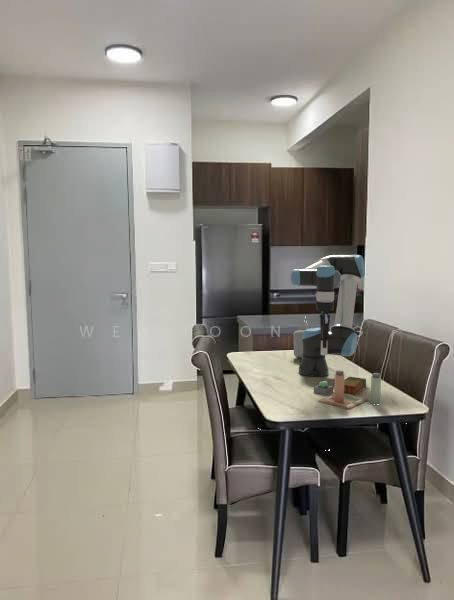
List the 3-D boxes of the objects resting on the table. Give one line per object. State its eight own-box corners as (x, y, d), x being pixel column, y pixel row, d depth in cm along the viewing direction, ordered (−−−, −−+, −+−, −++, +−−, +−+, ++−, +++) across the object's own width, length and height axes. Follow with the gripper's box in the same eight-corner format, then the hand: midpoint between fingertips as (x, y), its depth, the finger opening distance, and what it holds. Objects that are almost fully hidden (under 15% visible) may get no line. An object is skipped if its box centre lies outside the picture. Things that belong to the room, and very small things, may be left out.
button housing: (321, 389, 207) (321, 384, 207) (332, 392, 203) (333, 386, 203) (313, 392, 203) (313, 386, 203) (325, 394, 199) (325, 389, 199)
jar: (290, 355, 280) (290, 314, 277) (314, 354, 281) (314, 314, 278) (296, 362, 261) (297, 318, 259) (322, 361, 262) (322, 318, 259)
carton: (336, 393, 203) (336, 383, 203) (348, 384, 217) (348, 375, 216) (355, 395, 199) (355, 386, 198) (366, 387, 212) (366, 378, 212)
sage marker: (373, 401, 190) (374, 372, 189) (381, 403, 187) (382, 373, 186) (368, 403, 187) (369, 373, 186) (377, 405, 184) (378, 375, 183)
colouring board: (338, 393, 201) (338, 391, 201) (368, 400, 191) (368, 398, 191) (318, 401, 190) (318, 399, 190) (348, 409, 180) (348, 407, 180)
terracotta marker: (337, 399, 191) (338, 369, 189) (345, 401, 188) (346, 371, 187) (332, 401, 188) (333, 371, 187) (340, 403, 185) (341, 373, 184)
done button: (322, 385, 205) (322, 380, 205) (328, 386, 203) (328, 382, 203) (318, 386, 203) (318, 382, 203) (324, 388, 201) (324, 383, 200)
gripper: (314, 299, 206) (313, 351, 208) (318, 302, 193) (317, 357, 195) (331, 299, 205) (330, 351, 208) (336, 302, 193) (334, 358, 195)
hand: (324, 354), depth 201 cm, fingers closed
